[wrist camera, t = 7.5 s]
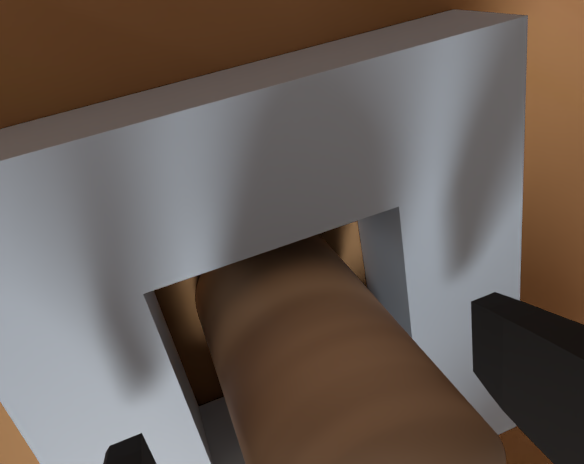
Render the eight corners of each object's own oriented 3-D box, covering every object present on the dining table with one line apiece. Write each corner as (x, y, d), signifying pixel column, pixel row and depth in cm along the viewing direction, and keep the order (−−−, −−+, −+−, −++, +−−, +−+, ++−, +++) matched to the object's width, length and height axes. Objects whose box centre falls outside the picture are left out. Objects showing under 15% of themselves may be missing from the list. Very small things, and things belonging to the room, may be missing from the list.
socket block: (467, 374, 18) (516, 426, 16) (124, 520, 16) (130, 604, 14) (454, 9, 13) (527, 15, 10) (-85, 151, 10) (-131, 196, 8)
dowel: (347, 320, 16) (506, 532, 10) (219, 371, 15) (305, 636, 9) (324, 201, 14) (505, 373, 8) (175, 253, 13) (247, 490, 7)
